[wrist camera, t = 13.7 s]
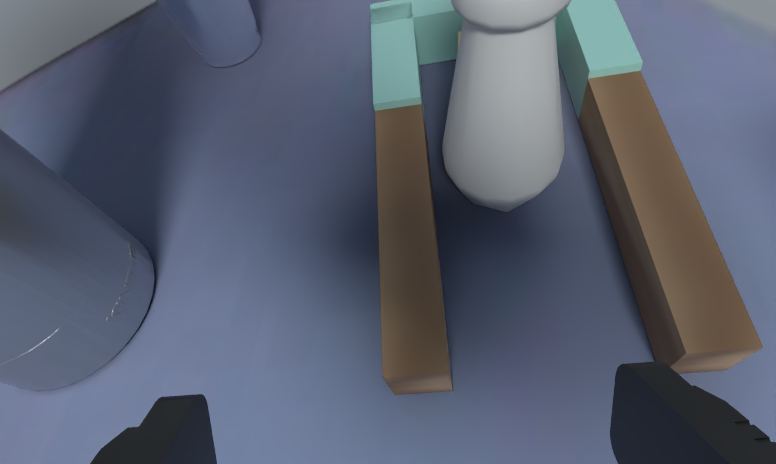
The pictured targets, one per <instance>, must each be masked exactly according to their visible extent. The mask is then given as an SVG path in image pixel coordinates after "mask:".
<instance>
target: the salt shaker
mask: <svg viewBox="0 0 776 464" xmlns="http://www.w3.org/2000/svg"><path fill="white" fill-rule="evenodd" d="M570 2H571V0H451V3H452V6H453V8H454V10H455V11H456V12H457V13H458V14H459V15H460V16H461V17H462V18H463V23H462V29H461V35H460V41H459V47H458V53H457V59H456V65H455V71H454V77H453V83H452V89H451V95H450V101H449V107H448V113H447V119H446V125H445V131H444V137H443V143H442V152H443V158H444V165H445V169H446V172H447V174H448V176H449V177H450V178H451V180H452V181H453V182H454V183H455V185H456V186H457V187H458V189H459V190H460V191H461V192H462V193H463V194H464V195H465V196H466V197H467V198H468V199H469V200H470V201H471V202H472V203H473V204H476V205H480V206H484V207H488V208H492V209H496V210H500V211H504V212H509V211H511V210H513V209H515V208H516V207H518V206H520V205H522V204H523V203H525V202H527V201H529V200H530V199H532V198H534V197H536V196H537V195H538V194H540V193H541V192H542V191H543V190H544V189H545V188H546V187H547V186H548V185H549V184H551V183H552V182H553V181H554V180H555V179H556V177H557V175H558V172H559V169H560V166H561V163H562V159H563V156H564V153H565V146H564V133H563V120H562V107H561V94H560V81H559V68H558V56H557V43H556V30H555V16H557V15H558V14H559V13H561V12H562V11H563V10H564V9H566V8H567V7H568V6H569V4H570Z"/></svg>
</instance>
